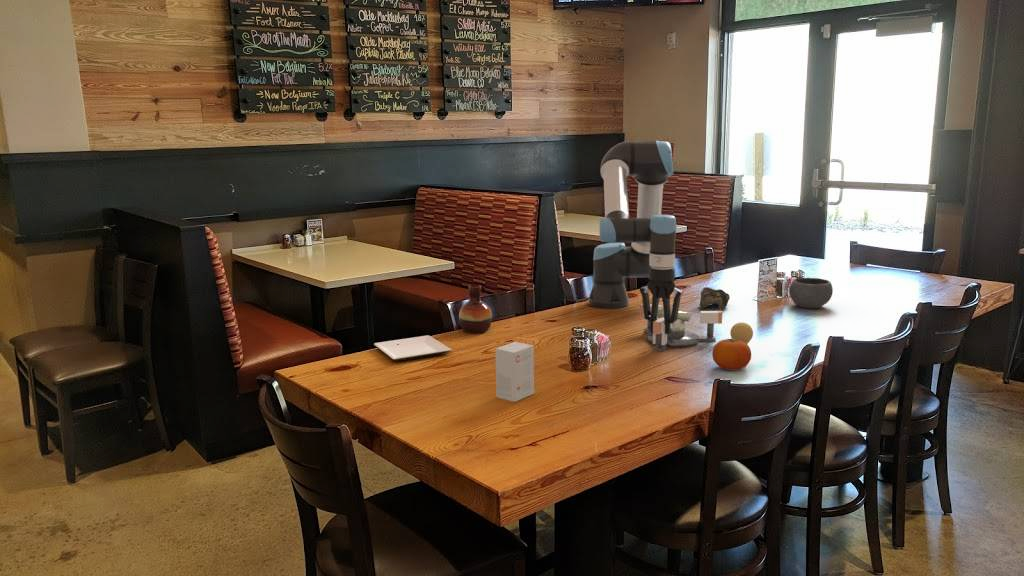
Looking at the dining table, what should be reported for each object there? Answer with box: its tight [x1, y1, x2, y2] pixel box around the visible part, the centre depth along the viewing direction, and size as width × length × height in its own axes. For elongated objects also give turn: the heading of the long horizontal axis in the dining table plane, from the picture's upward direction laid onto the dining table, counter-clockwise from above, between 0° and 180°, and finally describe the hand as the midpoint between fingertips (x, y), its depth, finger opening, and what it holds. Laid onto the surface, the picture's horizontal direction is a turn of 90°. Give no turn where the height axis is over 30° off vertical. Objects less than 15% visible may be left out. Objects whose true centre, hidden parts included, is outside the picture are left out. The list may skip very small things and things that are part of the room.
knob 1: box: [639, 302, 662, 329], centre depth 255 cm, size 6×2×8 cm, turn 65°
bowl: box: [789, 277, 834, 309], centre depth 287 cm, size 15×15×10 cm
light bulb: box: [730, 322, 754, 345], centre depth 228 cm, size 6×6×10 cm
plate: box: [373, 334, 453, 362], centre depth 238 cm, size 19×19×2 cm
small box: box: [494, 341, 535, 403], centre depth 197 cm, size 8×6×13 cm
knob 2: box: [653, 317, 664, 346], centre depth 236 cm, size 6×2×8 cm, turn 148°
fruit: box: [711, 338, 752, 371], centre depth 217 cm, size 11×10×8 cm
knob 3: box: [699, 310, 723, 337], centre depth 245 cm, size 6×2×8 cm, turn 88°
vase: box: [458, 284, 493, 334], centre depth 260 cm, size 11×11×15 cm
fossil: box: [699, 286, 730, 311], centre depth 288 cm, size 11×9×10 cm
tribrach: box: [643, 308, 717, 352], centre depth 243 cm, size 24×21×10 cm
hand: (659, 343), depth 236 cm, fingers closed on knob 2, 2 cm apart
